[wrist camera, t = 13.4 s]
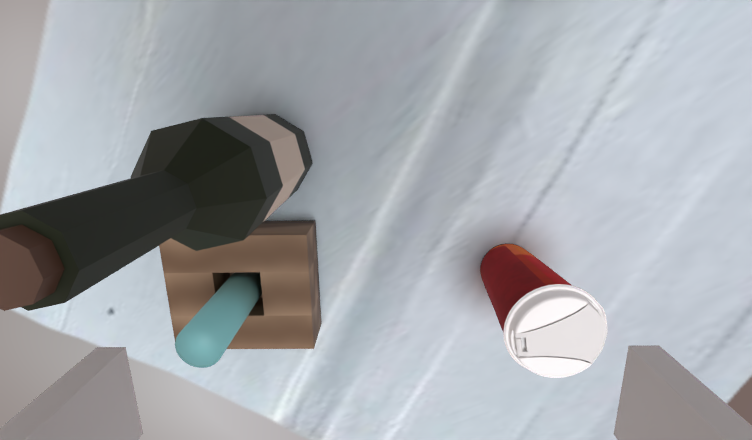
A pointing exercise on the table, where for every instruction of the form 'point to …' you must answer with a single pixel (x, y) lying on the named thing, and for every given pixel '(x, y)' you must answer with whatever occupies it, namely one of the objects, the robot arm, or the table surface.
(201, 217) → the wine bottle
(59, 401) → the robot arm
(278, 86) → the table surface
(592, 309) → the paper cup
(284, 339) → the bore block
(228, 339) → the pin
